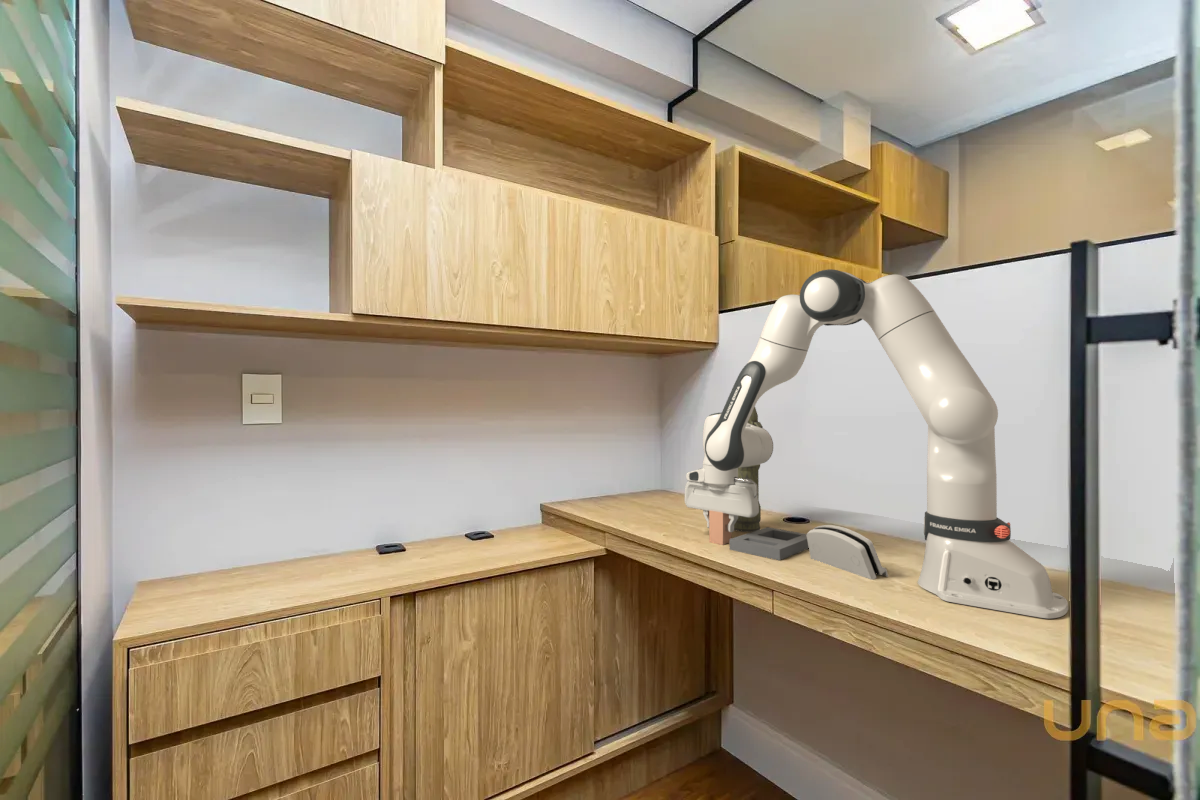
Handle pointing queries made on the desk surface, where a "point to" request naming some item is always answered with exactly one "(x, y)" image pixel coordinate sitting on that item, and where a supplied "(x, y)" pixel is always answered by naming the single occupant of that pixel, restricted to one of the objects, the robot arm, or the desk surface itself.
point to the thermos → (751, 473)
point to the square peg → (719, 528)
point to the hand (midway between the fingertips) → (720, 529)
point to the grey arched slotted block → (845, 550)
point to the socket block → (770, 543)
